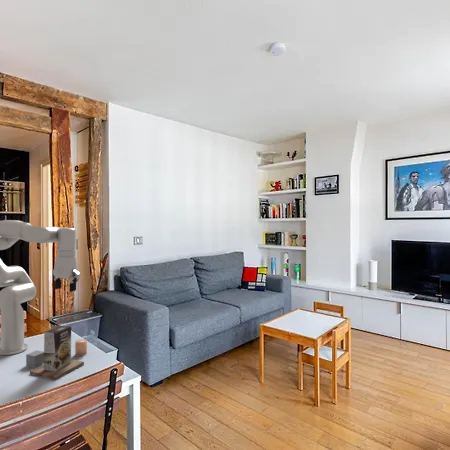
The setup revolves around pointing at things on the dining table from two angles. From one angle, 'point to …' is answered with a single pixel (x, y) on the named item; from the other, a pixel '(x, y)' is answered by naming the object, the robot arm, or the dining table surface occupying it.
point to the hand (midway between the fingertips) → (65, 289)
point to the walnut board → (58, 373)
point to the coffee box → (57, 348)
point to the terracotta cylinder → (80, 347)
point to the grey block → (35, 358)
